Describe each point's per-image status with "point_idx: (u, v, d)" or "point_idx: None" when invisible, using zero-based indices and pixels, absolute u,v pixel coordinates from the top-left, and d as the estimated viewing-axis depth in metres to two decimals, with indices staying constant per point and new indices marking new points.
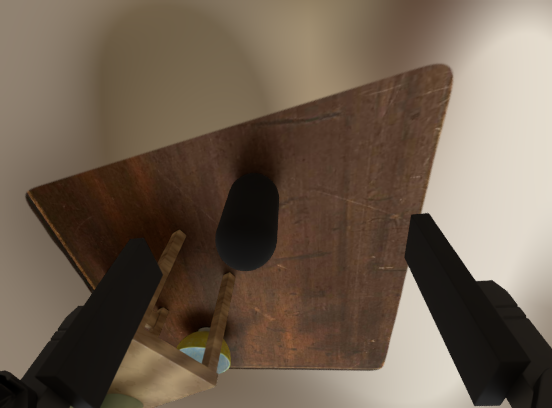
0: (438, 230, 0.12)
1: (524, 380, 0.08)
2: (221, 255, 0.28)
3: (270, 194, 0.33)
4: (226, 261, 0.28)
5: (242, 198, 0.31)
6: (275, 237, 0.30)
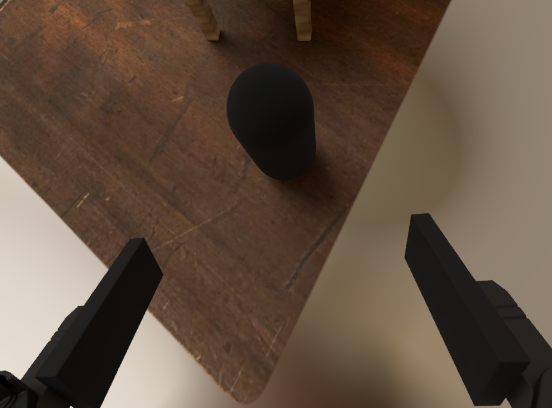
0: (438, 230, 0.12)
1: (524, 380, 0.08)
2: (285, 69, 0.19)
3: (280, 171, 0.26)
4: (274, 67, 0.19)
5: (308, 146, 0.24)
6: (245, 144, 0.21)
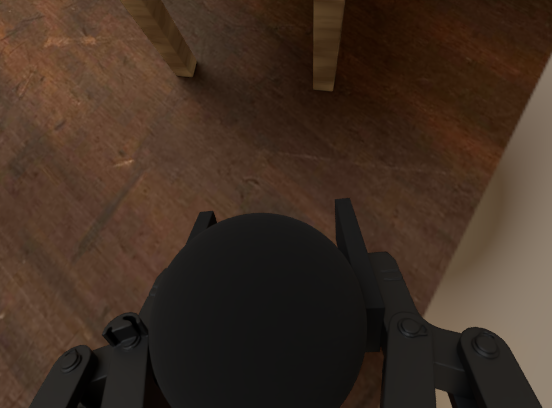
0: (352, 211, 0.14)
1: (383, 324, 0.09)
2: (308, 268, 0.07)
3: None
4: (278, 272, 0.06)
5: None
6: None
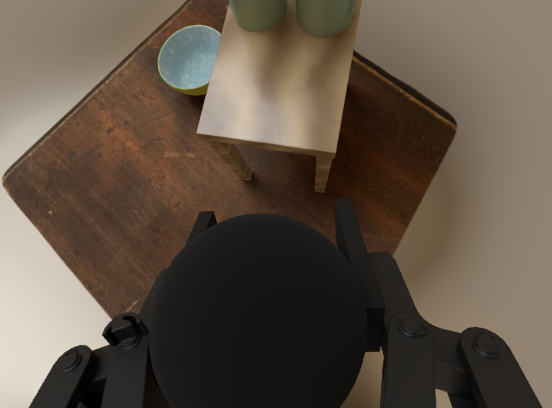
0: (352, 211, 0.14)
1: (383, 324, 0.09)
2: (308, 269, 0.07)
3: None
4: (278, 272, 0.06)
5: None
6: None
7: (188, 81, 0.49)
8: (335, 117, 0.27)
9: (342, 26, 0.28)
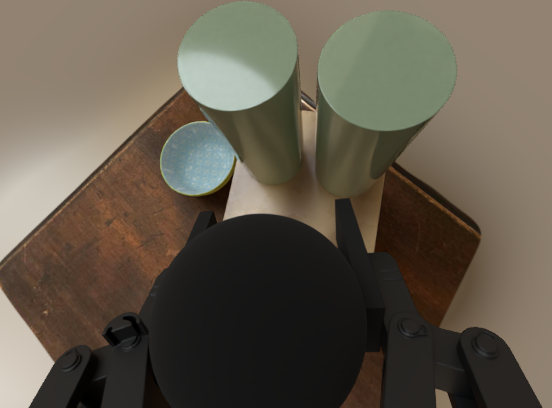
0: (352, 211, 0.14)
1: (384, 324, 0.09)
2: (308, 269, 0.07)
3: None
4: (278, 272, 0.06)
5: None
6: None
7: (192, 174, 0.46)
8: None
9: (367, 190, 0.25)
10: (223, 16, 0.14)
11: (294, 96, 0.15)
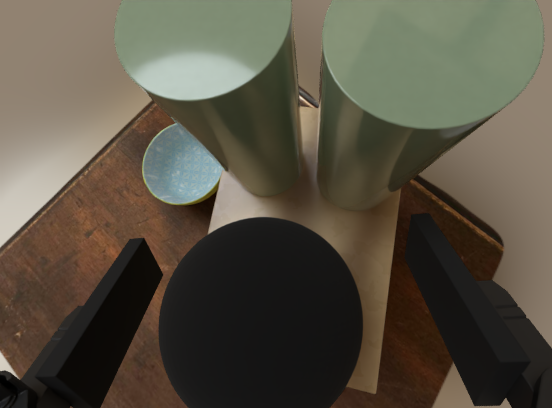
0: (438, 230, 0.12)
1: (524, 380, 0.08)
2: (307, 269, 0.07)
3: None
4: (280, 273, 0.07)
5: None
6: None
7: (179, 179, 0.41)
8: (373, 337, 0.20)
9: (381, 202, 0.20)
10: None
11: (288, 81, 0.11)
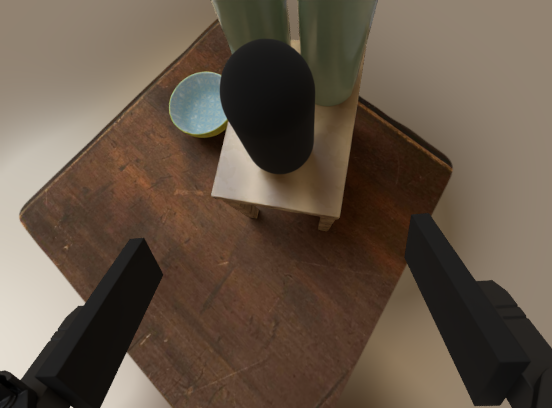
0: (438, 230, 0.12)
1: (524, 380, 0.08)
2: (287, 46, 0.17)
3: (275, 163, 0.24)
4: (275, 43, 0.17)
5: (306, 136, 0.22)
6: (238, 128, 0.19)
7: (197, 122, 0.51)
8: (339, 183, 0.29)
9: (344, 98, 0.30)
10: None
11: None
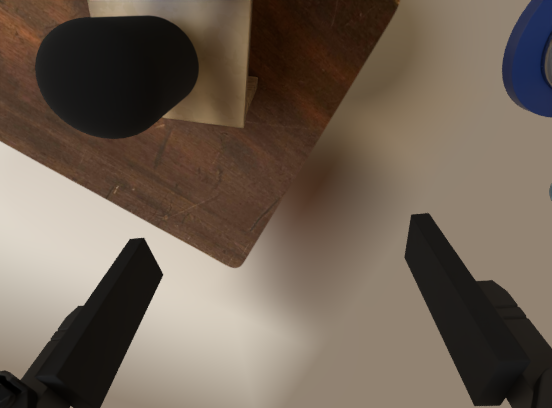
0: (438, 230, 0.12)
1: (524, 380, 0.08)
2: (98, 58, 0.14)
3: None
4: (81, 61, 0.14)
5: (175, 100, 0.20)
6: None
7: None
8: (239, 93, 0.28)
9: None
10: None
11: None
